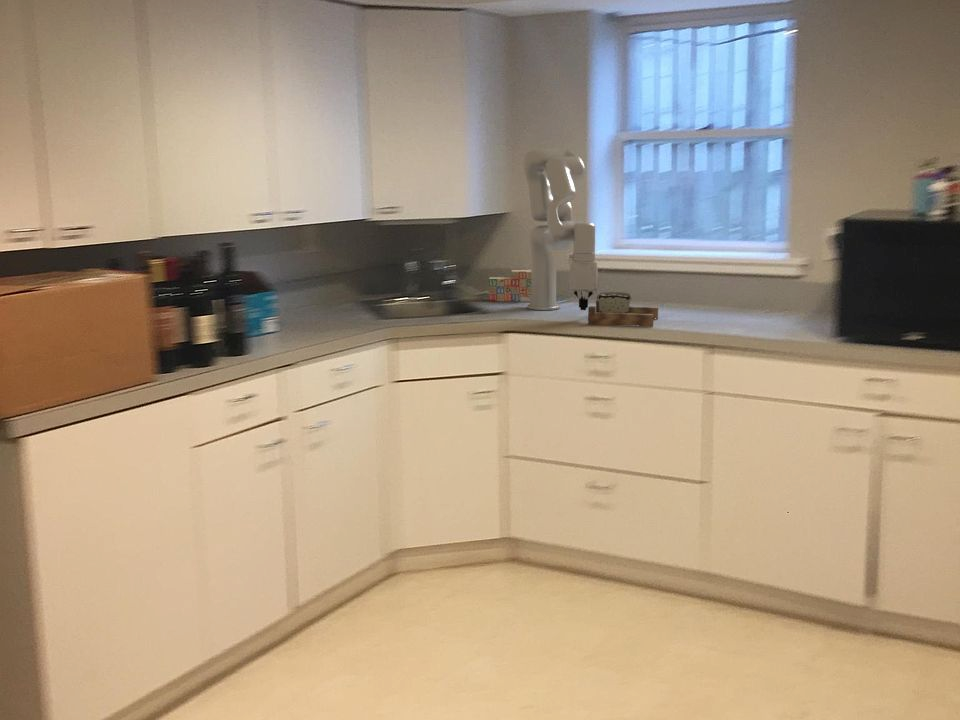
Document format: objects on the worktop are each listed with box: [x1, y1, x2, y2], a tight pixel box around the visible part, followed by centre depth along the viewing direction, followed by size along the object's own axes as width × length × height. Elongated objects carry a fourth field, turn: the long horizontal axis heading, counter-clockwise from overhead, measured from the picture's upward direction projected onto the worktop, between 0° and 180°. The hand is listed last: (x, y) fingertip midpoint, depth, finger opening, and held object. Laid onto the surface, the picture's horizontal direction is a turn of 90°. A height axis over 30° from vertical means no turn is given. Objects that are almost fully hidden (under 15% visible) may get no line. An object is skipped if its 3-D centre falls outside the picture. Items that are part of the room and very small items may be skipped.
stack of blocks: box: [488, 269, 531, 302], centre depth 405 cm, size 21×6×12 cm, turn 86°
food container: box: [596, 291, 633, 313], centre depth 350 cm, size 12×6×10 cm, turn 71°
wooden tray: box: [587, 299, 659, 327], centre depth 350 cm, size 22×20×6 cm
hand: (583, 309), depth 353 cm, fingers closed
